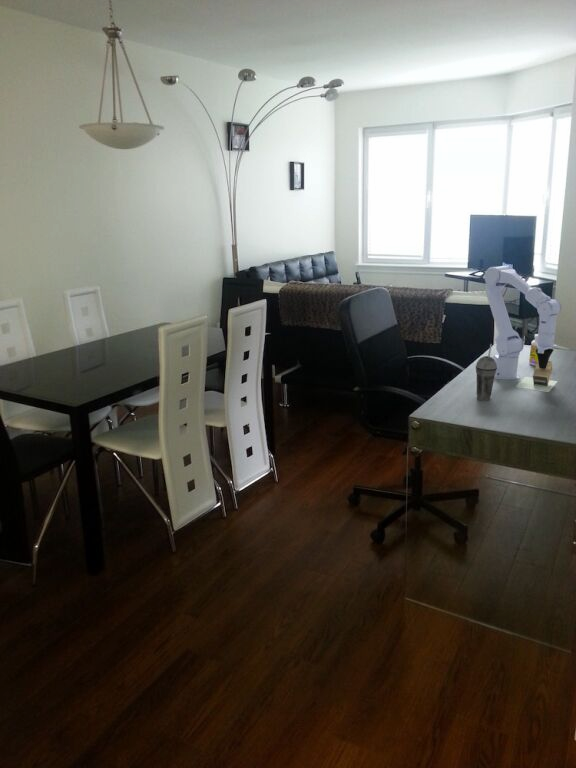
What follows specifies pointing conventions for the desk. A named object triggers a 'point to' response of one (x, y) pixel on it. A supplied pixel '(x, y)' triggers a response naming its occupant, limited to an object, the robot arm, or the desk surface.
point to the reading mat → (535, 385)
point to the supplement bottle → (533, 351)
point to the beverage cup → (485, 376)
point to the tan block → (542, 374)
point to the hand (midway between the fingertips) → (542, 368)
